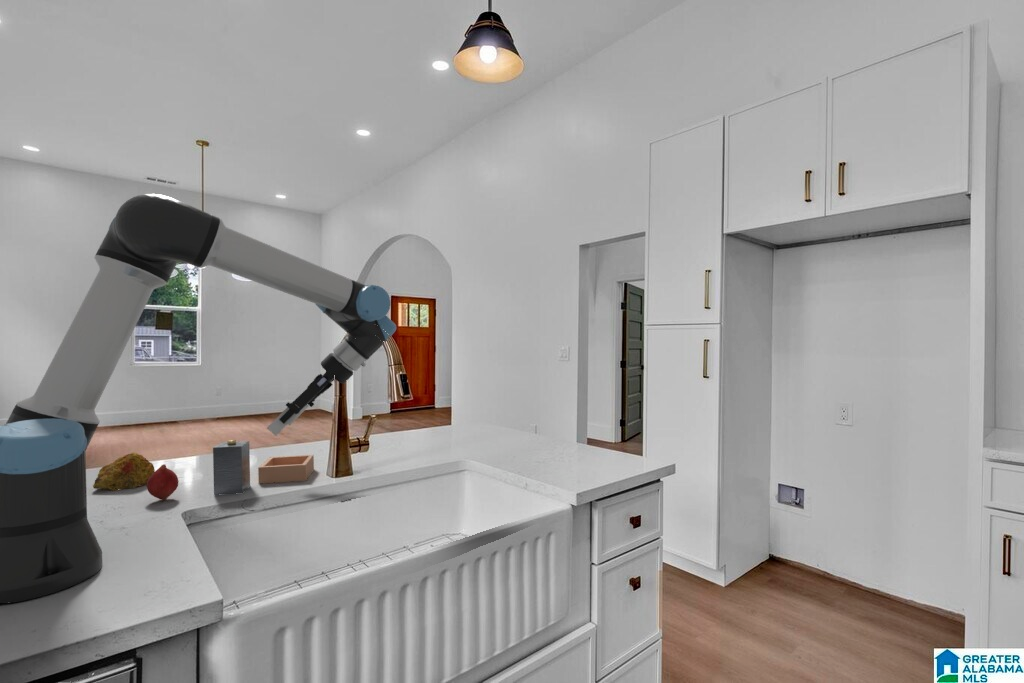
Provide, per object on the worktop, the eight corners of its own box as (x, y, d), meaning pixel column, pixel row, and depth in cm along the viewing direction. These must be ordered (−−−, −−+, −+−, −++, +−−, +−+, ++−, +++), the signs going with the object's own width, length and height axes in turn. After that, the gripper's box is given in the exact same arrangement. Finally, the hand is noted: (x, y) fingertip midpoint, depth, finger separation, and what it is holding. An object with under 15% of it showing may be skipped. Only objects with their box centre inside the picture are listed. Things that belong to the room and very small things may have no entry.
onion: (142, 505, 111) (141, 468, 111) (153, 497, 117) (152, 462, 117) (173, 502, 113) (172, 466, 113) (182, 495, 118) (181, 460, 118)
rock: (119, 509, 122) (82, 482, 119) (124, 505, 129) (89, 479, 126) (160, 470, 127) (125, 444, 124) (162, 468, 134) (130, 443, 131)
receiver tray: (305, 480, 129) (305, 464, 129) (258, 483, 127) (258, 467, 127) (313, 469, 140) (313, 454, 140) (270, 472, 138) (270, 457, 137)
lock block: (242, 493, 119) (241, 442, 119) (213, 495, 118) (212, 444, 118) (250, 486, 125) (249, 437, 125) (223, 487, 124) (222, 438, 124)
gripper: (349, 376, 114) (278, 448, 112) (359, 369, 139) (301, 427, 136) (323, 353, 113) (251, 424, 111) (338, 350, 138) (279, 408, 135)
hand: (278, 426), depth 123 cm, fingers open, 13 cm apart
